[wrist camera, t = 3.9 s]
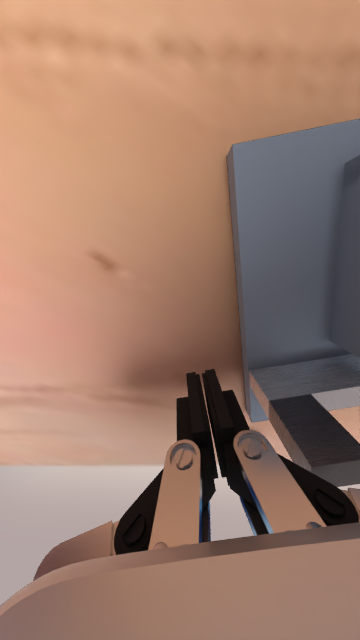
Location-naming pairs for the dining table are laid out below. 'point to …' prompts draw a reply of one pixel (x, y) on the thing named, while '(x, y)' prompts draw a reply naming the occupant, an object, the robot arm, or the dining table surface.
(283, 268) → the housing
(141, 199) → the dining table surface
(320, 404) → the gate
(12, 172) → the dining table surface
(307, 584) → the robot arm
